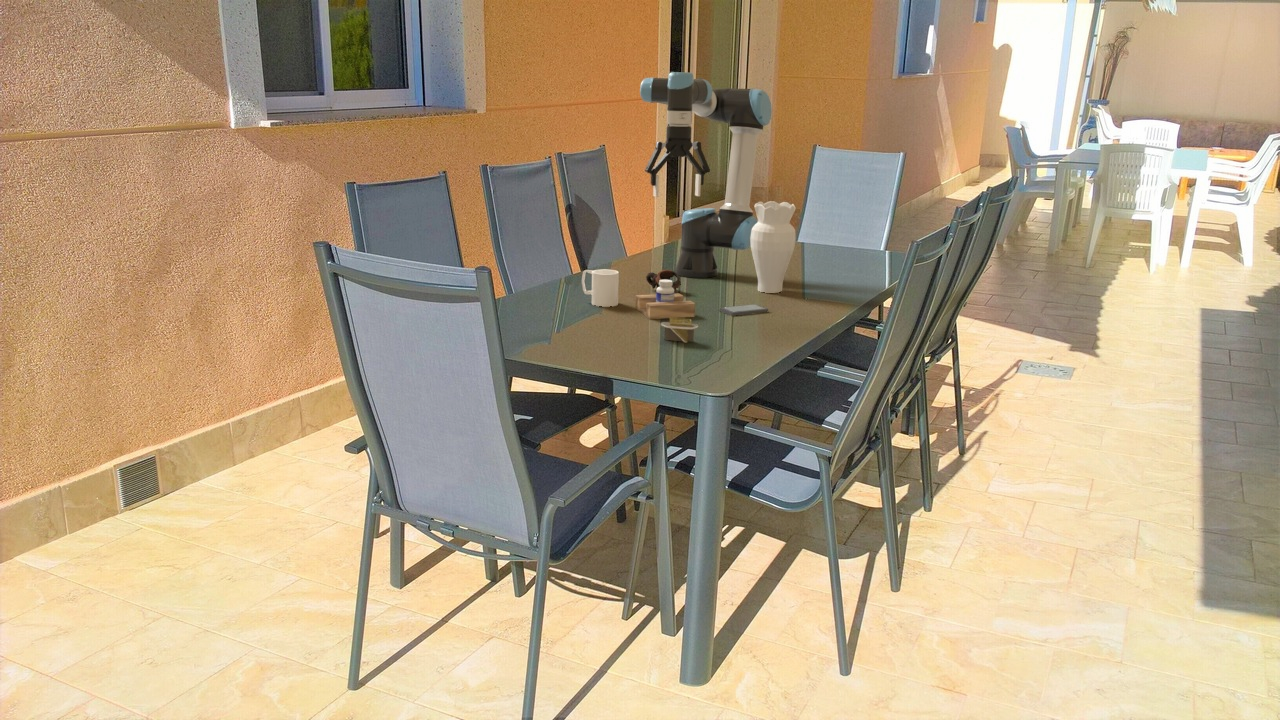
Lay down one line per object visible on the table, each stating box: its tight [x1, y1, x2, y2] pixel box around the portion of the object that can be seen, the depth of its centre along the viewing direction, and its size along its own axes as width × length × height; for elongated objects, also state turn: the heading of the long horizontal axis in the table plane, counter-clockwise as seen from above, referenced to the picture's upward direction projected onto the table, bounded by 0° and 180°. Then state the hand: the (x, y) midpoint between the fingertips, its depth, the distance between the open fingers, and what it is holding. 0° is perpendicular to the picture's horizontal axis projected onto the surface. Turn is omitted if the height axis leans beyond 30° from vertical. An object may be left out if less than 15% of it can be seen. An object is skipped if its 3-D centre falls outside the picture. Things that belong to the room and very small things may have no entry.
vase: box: [750, 200, 797, 294], centre depth 331 cm, size 15×15×29 cm
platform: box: [660, 318, 699, 343], centre depth 271 cm, size 12×18×7 cm, turn 80°
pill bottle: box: [655, 279, 675, 302], centre depth 302 cm, size 5×5×10 cm
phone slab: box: [719, 303, 769, 317], centre depth 307 cm, size 7×13×1 cm, turn 117°
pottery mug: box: [645, 269, 682, 291], centre depth 331 cm, size 12×10×8 cm
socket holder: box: [635, 293, 696, 320], centre depth 303 cm, size 14×14×4 cm
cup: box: [581, 268, 620, 308], centre depth 312 cm, size 8×12×10 cm
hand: (676, 196), depth 310 cm, fingers open, 13 cm apart
